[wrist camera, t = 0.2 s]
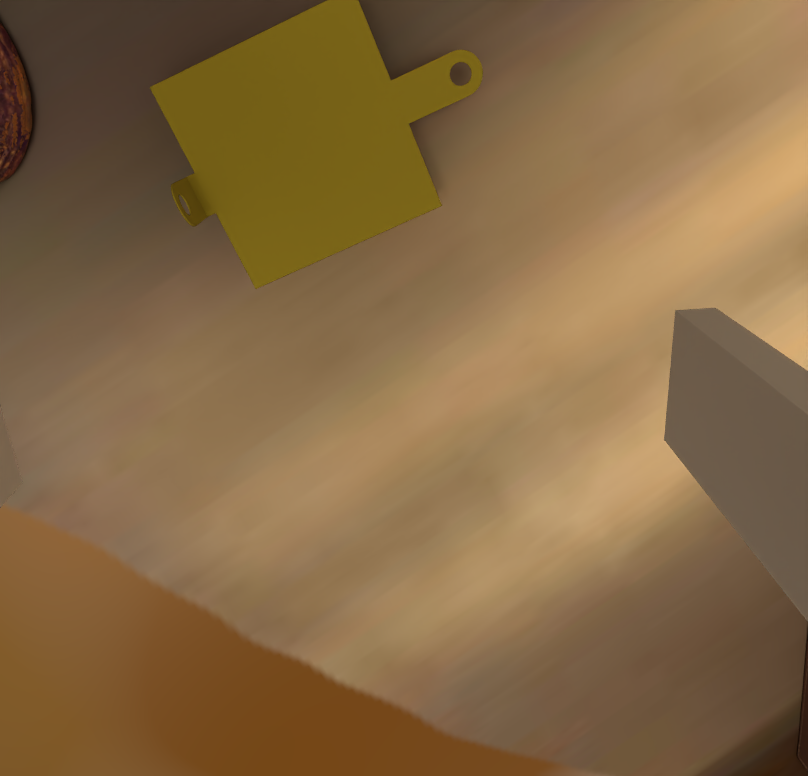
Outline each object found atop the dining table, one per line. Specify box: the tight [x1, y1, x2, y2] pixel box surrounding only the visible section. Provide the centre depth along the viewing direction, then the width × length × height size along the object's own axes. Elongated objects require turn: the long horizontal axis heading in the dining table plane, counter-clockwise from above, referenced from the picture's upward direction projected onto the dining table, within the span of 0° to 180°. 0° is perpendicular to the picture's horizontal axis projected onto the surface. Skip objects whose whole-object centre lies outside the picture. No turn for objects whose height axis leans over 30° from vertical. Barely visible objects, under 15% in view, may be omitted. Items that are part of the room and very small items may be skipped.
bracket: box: [150, 0, 483, 289], centre depth 36 cm, size 16×8×15 cm
